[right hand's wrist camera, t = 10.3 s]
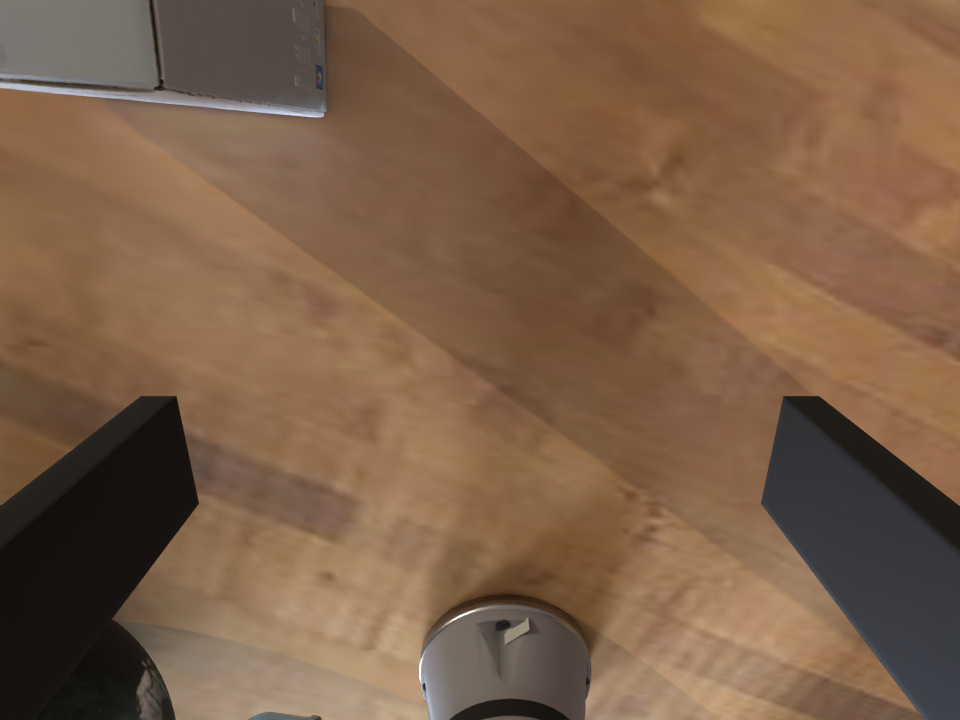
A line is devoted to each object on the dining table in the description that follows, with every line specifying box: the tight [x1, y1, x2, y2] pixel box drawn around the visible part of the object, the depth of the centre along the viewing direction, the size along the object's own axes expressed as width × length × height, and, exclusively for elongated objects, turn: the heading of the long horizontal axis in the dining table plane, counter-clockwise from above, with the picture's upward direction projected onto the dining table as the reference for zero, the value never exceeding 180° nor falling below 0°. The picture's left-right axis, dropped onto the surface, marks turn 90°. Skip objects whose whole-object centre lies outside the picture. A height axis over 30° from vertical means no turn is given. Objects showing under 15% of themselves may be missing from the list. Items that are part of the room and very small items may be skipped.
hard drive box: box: [0, 0, 327, 117], centre depth 26 cm, size 16×8×20 cm, turn 86°
